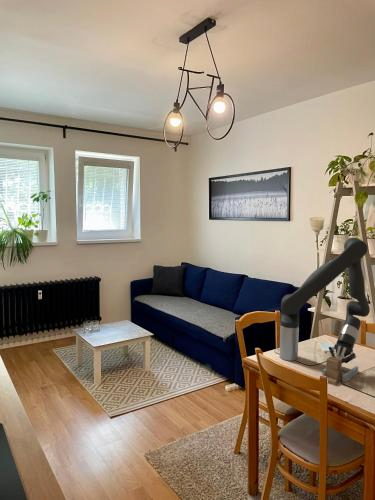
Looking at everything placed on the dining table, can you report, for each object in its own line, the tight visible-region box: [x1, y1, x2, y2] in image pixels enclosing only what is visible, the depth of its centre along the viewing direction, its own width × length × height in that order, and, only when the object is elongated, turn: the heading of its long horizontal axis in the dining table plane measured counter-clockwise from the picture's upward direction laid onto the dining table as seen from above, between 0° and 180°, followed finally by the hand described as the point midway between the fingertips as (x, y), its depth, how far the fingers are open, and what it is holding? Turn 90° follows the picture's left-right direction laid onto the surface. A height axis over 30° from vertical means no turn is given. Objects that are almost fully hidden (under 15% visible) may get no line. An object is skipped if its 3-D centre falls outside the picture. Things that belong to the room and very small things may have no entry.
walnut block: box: [325, 355, 343, 386], centre depth 166 cm, size 9×6×10 cm, turn 136°
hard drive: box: [318, 342, 336, 353], centre depth 205 cm, size 2×8×12 cm
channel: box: [321, 365, 359, 383], centre depth 174 cm, size 16×10×2 cm, turn 135°
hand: (336, 368), depth 169 cm, fingers closed
